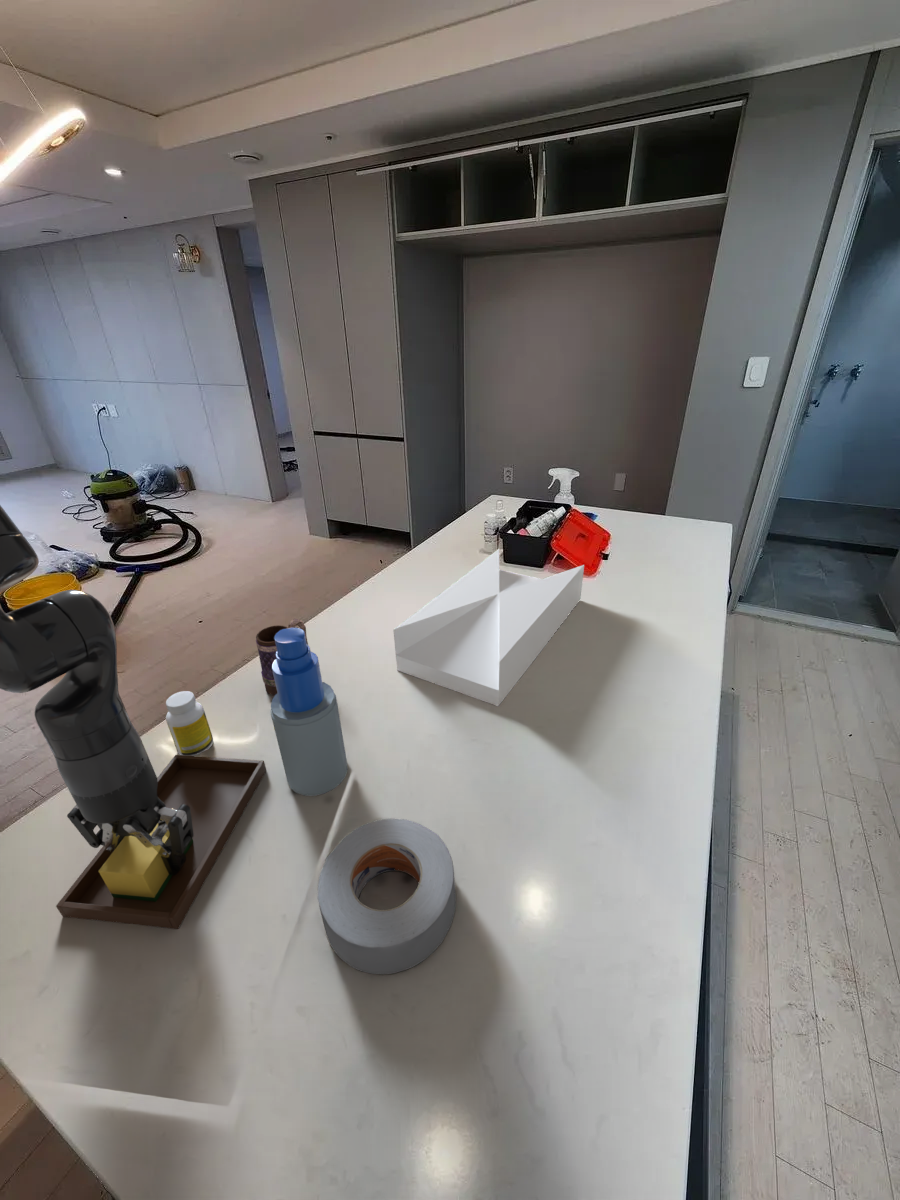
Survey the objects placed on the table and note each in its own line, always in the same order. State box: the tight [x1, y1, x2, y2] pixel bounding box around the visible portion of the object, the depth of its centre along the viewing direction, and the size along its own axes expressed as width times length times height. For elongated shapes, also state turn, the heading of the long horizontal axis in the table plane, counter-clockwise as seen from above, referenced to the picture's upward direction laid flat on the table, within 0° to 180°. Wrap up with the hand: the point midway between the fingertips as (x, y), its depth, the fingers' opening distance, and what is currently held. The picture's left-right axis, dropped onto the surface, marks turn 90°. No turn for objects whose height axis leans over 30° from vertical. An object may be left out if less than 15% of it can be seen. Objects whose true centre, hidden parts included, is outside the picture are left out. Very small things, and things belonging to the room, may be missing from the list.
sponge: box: [99, 824, 193, 902], centre depth 62 cm, size 6×8×5 cm
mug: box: [255, 618, 309, 697], centre depth 95 cm, size 10×7×12 cm
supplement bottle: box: [165, 690, 214, 756], centre depth 80 cm, size 5×5×10 cm
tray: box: [55, 754, 267, 930], centre depth 67 cm, size 14×23×3 cm, turn 174°
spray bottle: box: [270, 627, 349, 797], centre depth 71 cm, size 9×9×25 cm
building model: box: [392, 548, 585, 707], centre depth 109 cm, size 45×22×10 cm, turn 149°
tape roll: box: [317, 817, 457, 975], centre depth 58 cm, size 15×15×5 cm
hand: (154, 865), depth 63 cm, fingers closed on sponge, 5 cm apart
